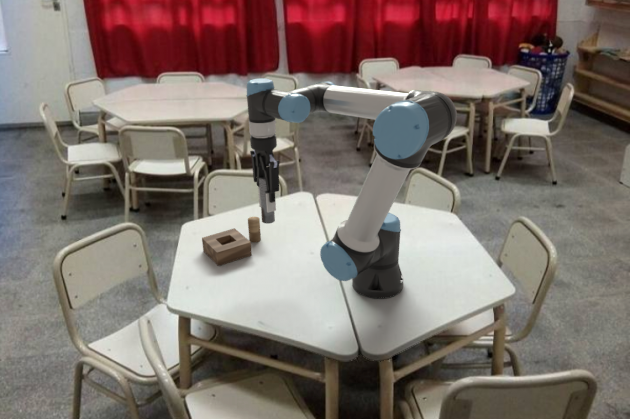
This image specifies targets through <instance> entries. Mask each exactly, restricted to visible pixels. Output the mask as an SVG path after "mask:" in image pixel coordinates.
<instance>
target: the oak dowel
mask: <svg viewBox="0 0 630 419" xmlns="http://www.w3.org/2000/svg"><path fill="white" fill-rule="evenodd" d="M247 226H248V240H249V241H250V242H251V243H253V244H255V243H259V242H260V241H261V240H262V236H261V223H260V217H258V216H249V218H247Z"/></svg>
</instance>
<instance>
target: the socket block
mask: <svg viewBox="0 0 630 419" xmlns="http://www.w3.org/2000/svg"><path fill="white" fill-rule="evenodd" d="M201 242H202V251H203V252H204V253H205V254H206V256H208V257H209V258H210V259H211V260H212V262H213V263H215V264H216V266H218V267H220V266H223V265H227V264H230V263H233V262H235V261H238V260H239V261H240V260H241V259H246V258H248V257H251V256H252V252H253V251H252V242H250V241H249V238H247V237H245V236H244V235H243V234H242V233H241V232H240V231H238V230H237V229H236V228H231V229H228V230H224V231H221V232H218V233H214V234H209V235H207V236H204V237H201Z"/></svg>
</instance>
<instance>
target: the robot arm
mask: <svg viewBox="0 0 630 419" xmlns="http://www.w3.org/2000/svg"><path fill="white" fill-rule="evenodd" d="M246 101H247V102H246V104H247V114H248V115H247V116H248V127H249V128H248V130H249V134H250V136H249V141H250V148H251V149H252V150H250V152H249V153H250V157H251V165H252V176H253V182H254V183H256V186H257V192H258V202H259V205H258V207H260V208H261V201H260V186H259V178H260V177H262V176H265V180H266V186H267V191H265V193H266V205H267V212H268V213H269V212H272V211H274V212H275V211H277V208H276V207H277V206H276V204H277V203H276V193H277V192H280V174H279V173H280V171H279V170H280V169H279V168H280V160H279V159H277V160H276V159H275V156H274V149H276V148H277V146H278V144H277V141H278V140H277V134H276V133H277V131H276V130H277V126H276V124H277V121H276V119H278V120H282V121H285V122H287V123H295V124H296V123H297V124H301V123H303V122H304V121H306V119H307V118H308V117H309V115H311V114H314V113H317V112H322V113H329V114H338V115H342V116H350V117H356V118H363V119H370V120H374V122H373V126H372V136H374V139H373V142H374V144H373V150H374V151H375V154H376V155H375V157H374V160H373V162H372V164H371V167H370V169H369V171H368V173H367V175H366V178H365V179H364V182H363V184H362V186H361V189H360V191H359V193H358V195H357V198H356V200H355V201H354V202H355V203H354V204H353V206H352V209H351V211H350V214H349V216H348V218H347V219H345V220H343V221H342V222H340V223H339V225H338V226H337V229H336V231H335V233H334V235H333V237H332V239H330V240H328V241H326V242H325V243H324V244H323V245H322V247H321V249H320V253H319V255H320V261H321V262H322V265H323V267H324V269H325V270H326V272H327V273H328V274H329V275H330V276H331V277H332V278H334V279H335V280H338V281H341V282H349V281H350V280H352V282H351V284H352V288H353V289H354V291H355V292H357V293H358V294H360V295H362V296H365V297H367V298H372V299H388V298H392V297H394V296H397V295H398V294H400V293H401V292H402V290H403V288H404V277H403V273H402V270H401V267H400V263H399V257H400V244H401V243H400V242H401V231H402V229H401V220H400V218H399V217H398V216H397V215H395V214H393V213H391V212H390V210H391V208H392V206H393V204H394V202H395V200H396V198H397V196H398V194H399V192H400V190H401V189H402V186H403V184H404V183H405V181H406V179H407V177H408V174H409V173H410V171H411V170H414V169H417V168H419V167H420V165H421V164H422V162H423V160H424V159H425V156H426V154H427V152H428V151H429V149H430V147H431V146H432V145H435V144H437V143H439V142H441V141H442V140H443V141H444V139H446V138H447V137H448V136H449V135H451V134H452V132H453V130H454V129H455V127H456V125H457V124H456V123H457V119H458V117H457V116H458V114H457V108H456V106H455V104H454V102H453V101H452V99H451V98H450V97H449V96H448V95H446V94H444V93H442V92H439V91H434V90H433V91H432V90H419V89H412V90H410V91H409V92H408V93H407V92H399V91H398V92H397V91H388V90H379V89H372V88H371V89H369V88H360V87H352V86H341V85H336V84H335V83H334V82H332V81H318V82H316V83H313V84H310V85H306V86H303V87H298V88H295V89H291V90H279V89H275V85H274V81H273V80H272V79H269V78H264V77H263V78H261V77H260V78H253V79H250V80H248V81H247V83H246Z"/></svg>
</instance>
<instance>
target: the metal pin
mask: <svg viewBox="0 0 630 419" xmlns="http://www.w3.org/2000/svg"><path fill="white" fill-rule="evenodd" d="M259 186H260V201H261V207H260V211H261V213H260V214H261V222H262V223H263V224H272V223H273V224H274V223H275V220H276V216H275V211H272V212H269V213H268V212H267V205H266V193H265V191H267V186H266V180H265V176H262V177H260V178H259Z"/></svg>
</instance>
